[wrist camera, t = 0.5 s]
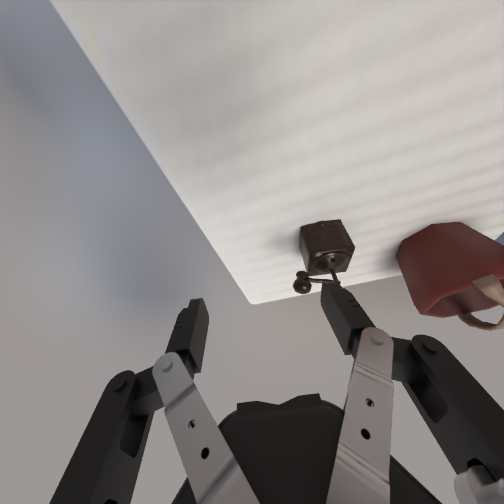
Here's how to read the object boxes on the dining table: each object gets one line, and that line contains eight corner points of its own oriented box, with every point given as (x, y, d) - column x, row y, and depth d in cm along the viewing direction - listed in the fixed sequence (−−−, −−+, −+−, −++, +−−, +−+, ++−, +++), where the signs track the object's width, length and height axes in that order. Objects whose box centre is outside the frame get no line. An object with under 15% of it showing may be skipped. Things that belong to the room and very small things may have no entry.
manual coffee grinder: (342, 216, 48) (376, 278, 36) (335, 245, 56) (361, 302, 45) (280, 227, 49) (294, 289, 38) (282, 253, 58) (294, 311, 46)
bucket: (401, 220, 50) (480, 313, 34) (502, 198, 46) (644, 290, 30) (380, 270, 68) (425, 346, 52) (451, 257, 65) (523, 334, 49)
